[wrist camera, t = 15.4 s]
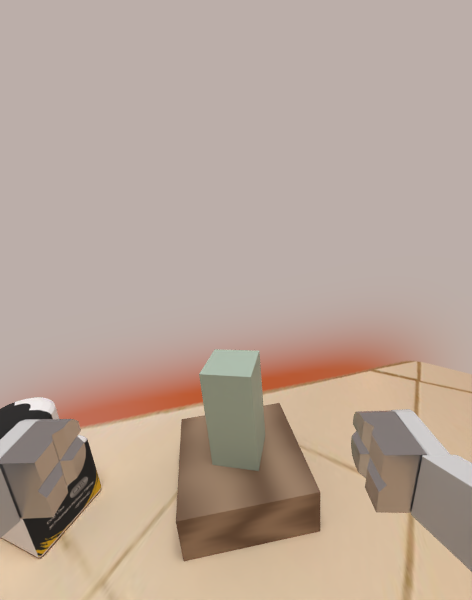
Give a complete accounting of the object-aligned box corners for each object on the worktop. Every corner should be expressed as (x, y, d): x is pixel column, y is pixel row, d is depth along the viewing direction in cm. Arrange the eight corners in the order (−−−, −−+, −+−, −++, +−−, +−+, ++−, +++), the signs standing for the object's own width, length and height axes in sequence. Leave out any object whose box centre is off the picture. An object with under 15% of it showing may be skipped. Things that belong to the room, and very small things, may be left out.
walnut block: (184, 564, 24) (175, 521, 23) (187, 452, 36) (181, 419, 34) (319, 534, 26) (320, 492, 24) (280, 435, 37) (279, 403, 36)
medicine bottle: (40, 561, 25) (-6, 451, 22) (-10, 533, 28) (-57, 432, 24) (103, 488, 31) (76, 395, 28) (58, 472, 34) (27, 384, 30)
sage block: (212, 464, 28) (199, 374, 25) (224, 430, 32) (214, 349, 29) (258, 471, 27) (250, 377, 24) (265, 434, 31) (259, 350, 28)
